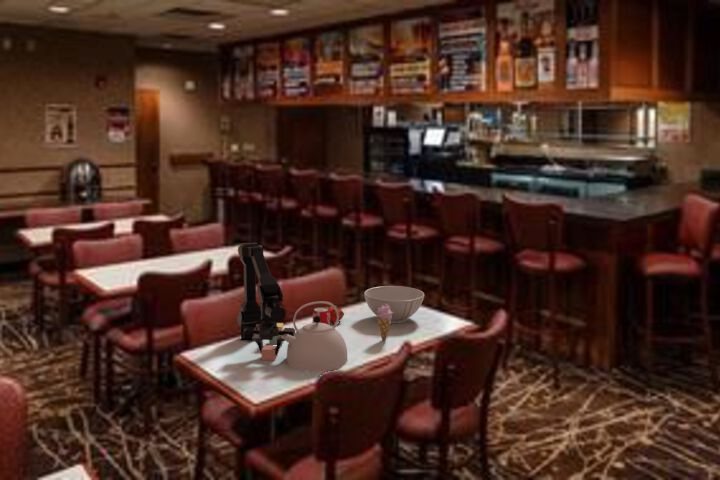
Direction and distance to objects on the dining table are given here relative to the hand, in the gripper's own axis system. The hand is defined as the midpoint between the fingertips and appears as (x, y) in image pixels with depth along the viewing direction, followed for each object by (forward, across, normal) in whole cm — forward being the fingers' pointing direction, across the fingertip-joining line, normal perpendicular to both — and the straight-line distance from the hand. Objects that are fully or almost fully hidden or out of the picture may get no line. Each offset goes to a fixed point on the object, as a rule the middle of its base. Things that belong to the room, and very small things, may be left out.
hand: (269, 355), depth 254 cm
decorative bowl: (+1, +47, +53) cm, 71 cm away
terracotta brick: (+1, 0, 0) cm, 1 cm away
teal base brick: (+1, 0, +16) cm, 16 cm away
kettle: (+1, +17, -2) cm, 17 cm away
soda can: (+1, +17, +25) cm, 30 cm away
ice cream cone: (+1, +43, +23) cm, 49 cm away
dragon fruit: (+1, +20, +46) cm, 50 cm away
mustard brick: (-3, 0, +16) cm, 16 cm away
